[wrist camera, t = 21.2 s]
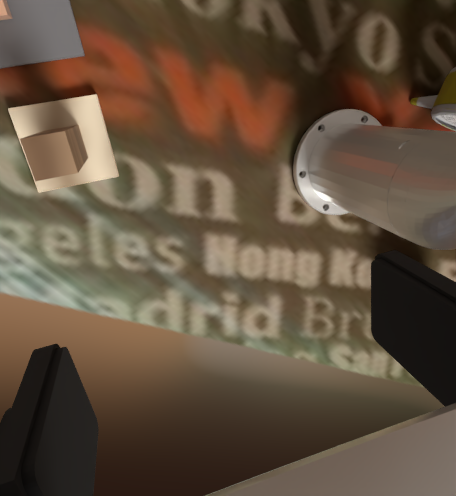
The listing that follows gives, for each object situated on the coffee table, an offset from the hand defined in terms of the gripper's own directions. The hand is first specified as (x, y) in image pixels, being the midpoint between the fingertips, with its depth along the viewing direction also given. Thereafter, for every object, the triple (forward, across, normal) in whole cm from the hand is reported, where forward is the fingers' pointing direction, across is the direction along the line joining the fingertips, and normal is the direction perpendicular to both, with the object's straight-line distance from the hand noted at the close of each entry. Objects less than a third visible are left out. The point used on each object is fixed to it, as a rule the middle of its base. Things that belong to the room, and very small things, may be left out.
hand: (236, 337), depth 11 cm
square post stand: (+32, +8, -4) cm, 34 cm away
